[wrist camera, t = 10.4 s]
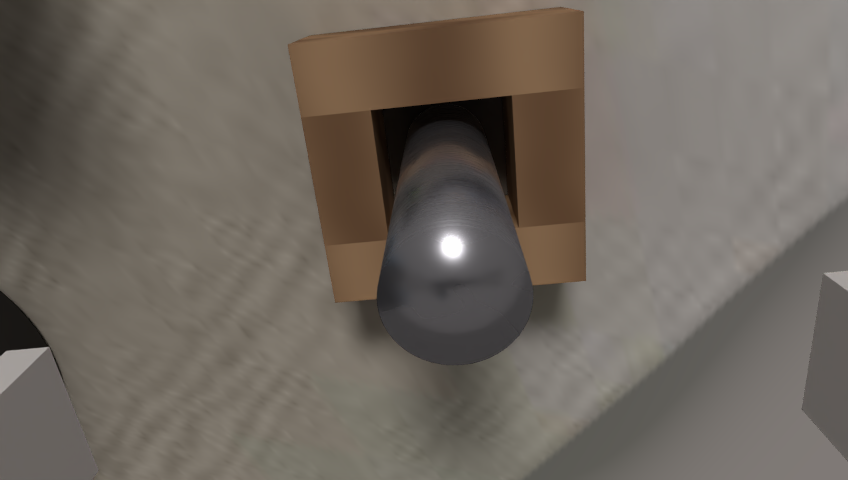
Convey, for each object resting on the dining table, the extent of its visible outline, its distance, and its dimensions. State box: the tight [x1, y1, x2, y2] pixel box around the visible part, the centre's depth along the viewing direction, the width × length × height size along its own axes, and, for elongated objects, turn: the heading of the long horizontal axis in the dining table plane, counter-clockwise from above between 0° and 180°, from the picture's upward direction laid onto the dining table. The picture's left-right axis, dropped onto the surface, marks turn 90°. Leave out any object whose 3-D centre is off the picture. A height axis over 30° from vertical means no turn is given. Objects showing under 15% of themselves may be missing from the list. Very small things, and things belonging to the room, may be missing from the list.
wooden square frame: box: [288, 7, 586, 303], centre depth 24 cm, size 10×10×4 cm
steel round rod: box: [377, 104, 533, 365], centre depth 20 cm, size 3×3×14 cm
